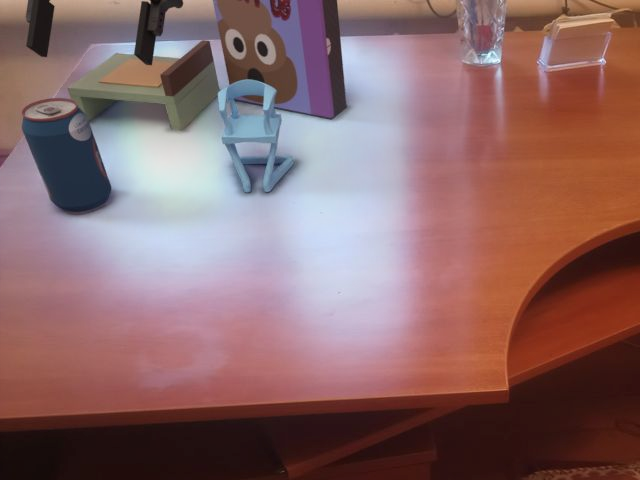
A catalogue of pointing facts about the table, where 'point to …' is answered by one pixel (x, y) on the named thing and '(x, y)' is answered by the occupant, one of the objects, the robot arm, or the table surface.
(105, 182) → the soda can
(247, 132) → the chair
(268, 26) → the cereal box
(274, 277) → the table surface
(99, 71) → the shelf
